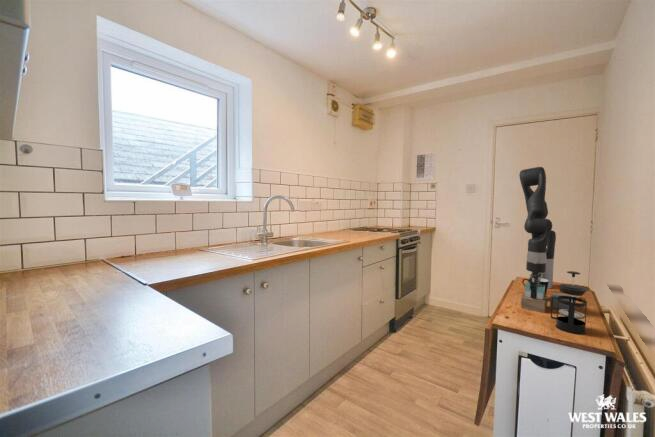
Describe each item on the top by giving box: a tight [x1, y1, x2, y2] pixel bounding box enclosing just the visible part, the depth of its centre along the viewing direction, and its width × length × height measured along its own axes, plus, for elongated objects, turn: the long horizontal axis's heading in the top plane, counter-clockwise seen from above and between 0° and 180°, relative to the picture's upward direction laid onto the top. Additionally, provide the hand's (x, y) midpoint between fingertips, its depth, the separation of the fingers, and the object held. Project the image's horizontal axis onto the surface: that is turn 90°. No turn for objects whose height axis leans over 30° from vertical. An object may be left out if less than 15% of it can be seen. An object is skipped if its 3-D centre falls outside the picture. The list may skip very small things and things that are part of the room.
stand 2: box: [549, 292, 577, 310], centre depth 142 cm, size 9×9×5 cm
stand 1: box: [520, 293, 549, 313], centre depth 142 cm, size 9×9×5 cm
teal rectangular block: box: [524, 281, 545, 300], centre depth 141 cm, size 5×7×6 cm
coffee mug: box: [521, 277, 549, 297], centre depth 156 cm, size 12×9×10 cm
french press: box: [550, 270, 589, 335], centre depth 118 cm, size 12×9×23 cm
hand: (534, 296), depth 142 cm, fingers closed on teal rectangular block, 5 cm apart
